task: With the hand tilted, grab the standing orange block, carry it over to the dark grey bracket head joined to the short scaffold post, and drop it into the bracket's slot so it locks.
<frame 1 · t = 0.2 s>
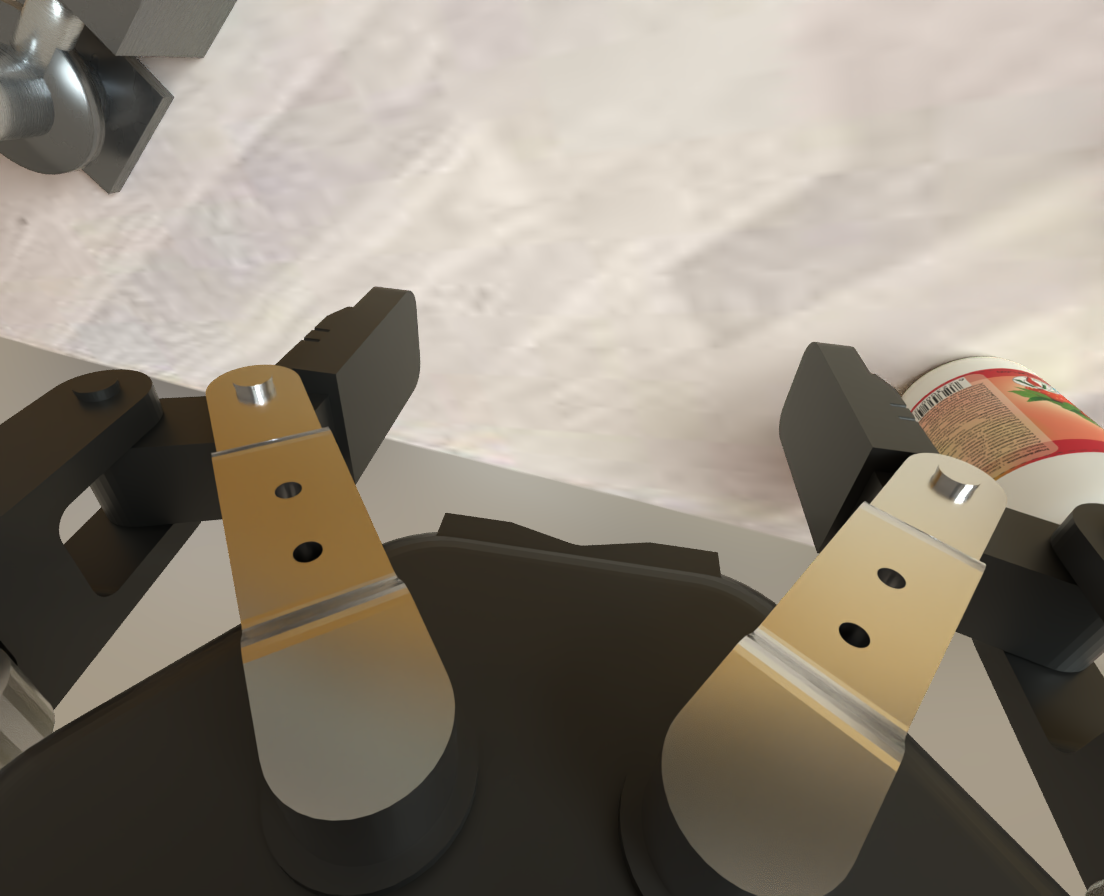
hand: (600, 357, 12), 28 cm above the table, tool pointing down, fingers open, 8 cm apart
fruit juice: (959, 412, 41), on the table
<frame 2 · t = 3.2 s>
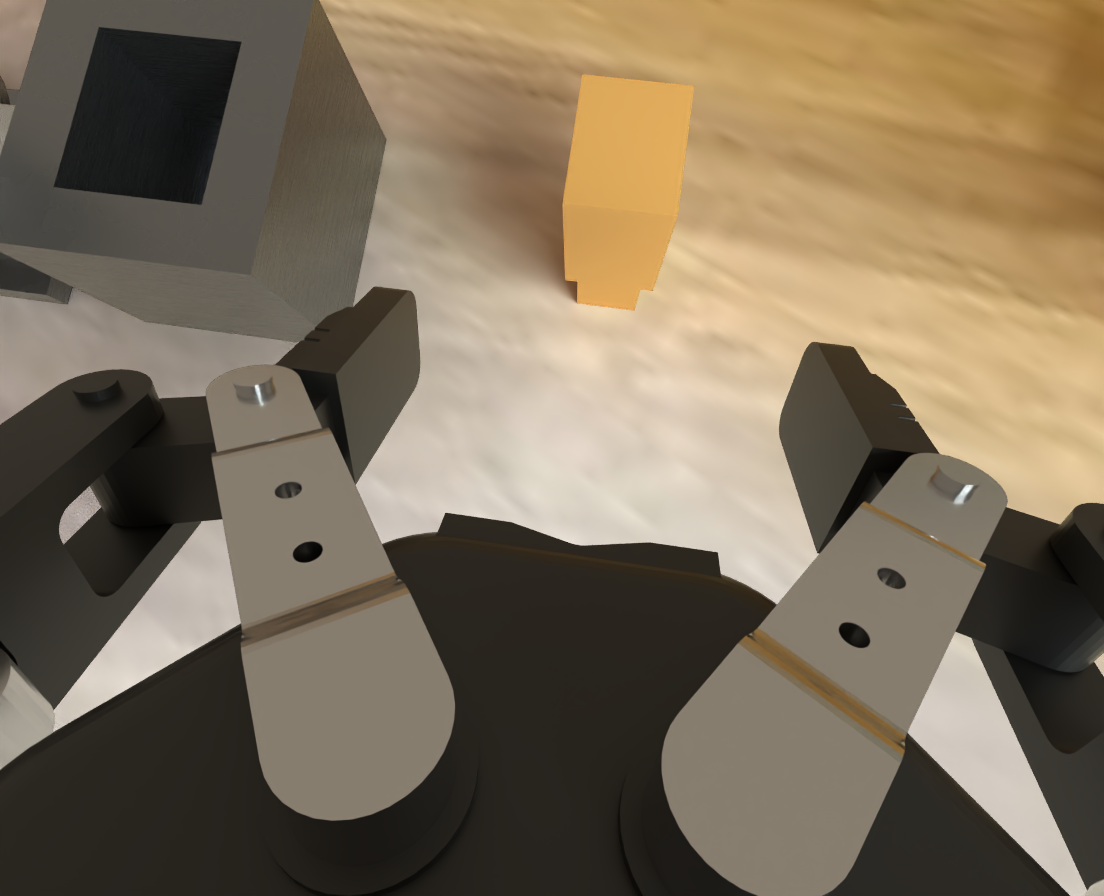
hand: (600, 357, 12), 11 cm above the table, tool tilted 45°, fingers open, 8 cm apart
orange block: (610, 270, 24), on the table
bracket post: (267, 229, 25), on the table
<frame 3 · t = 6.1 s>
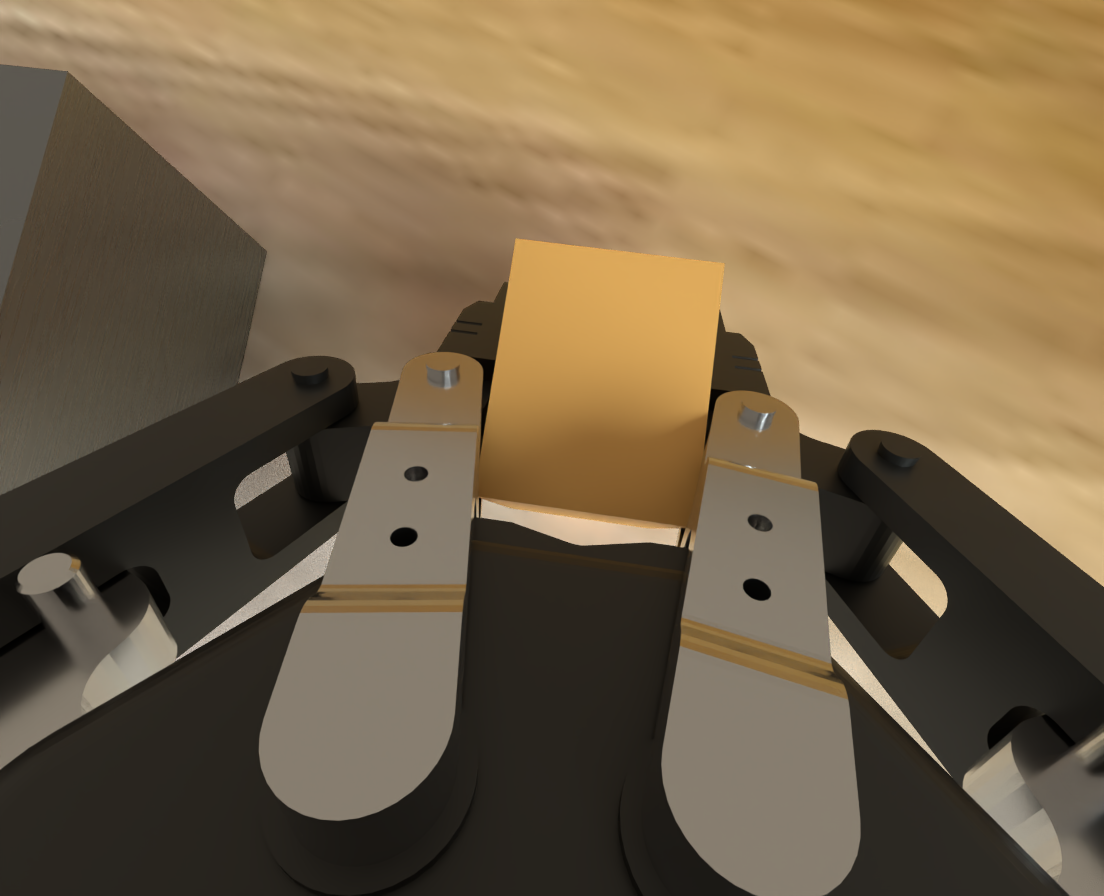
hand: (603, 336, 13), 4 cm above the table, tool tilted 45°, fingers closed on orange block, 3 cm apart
orange block: (587, 450, 16), on the table, touching gripper
bracket post: (92, 383, 17), on the table
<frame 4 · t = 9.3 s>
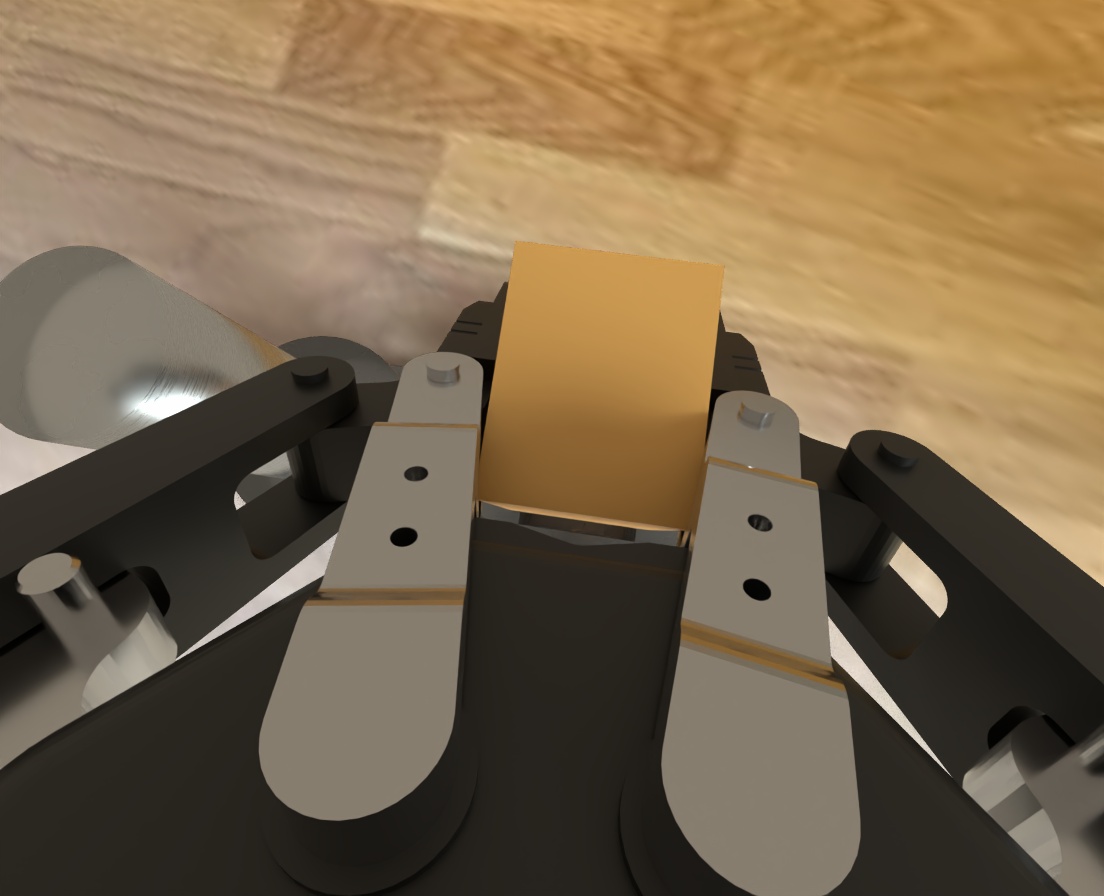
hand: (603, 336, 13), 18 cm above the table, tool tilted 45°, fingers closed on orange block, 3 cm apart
orange block: (587, 451, 16), point 14 cm above the table, touching gripper
bracket post: (584, 478, 31), on the table
when the fingers open (9 cm above the table, at t = 12.2 s): orange block drops 3 cm, resting on bracket post.
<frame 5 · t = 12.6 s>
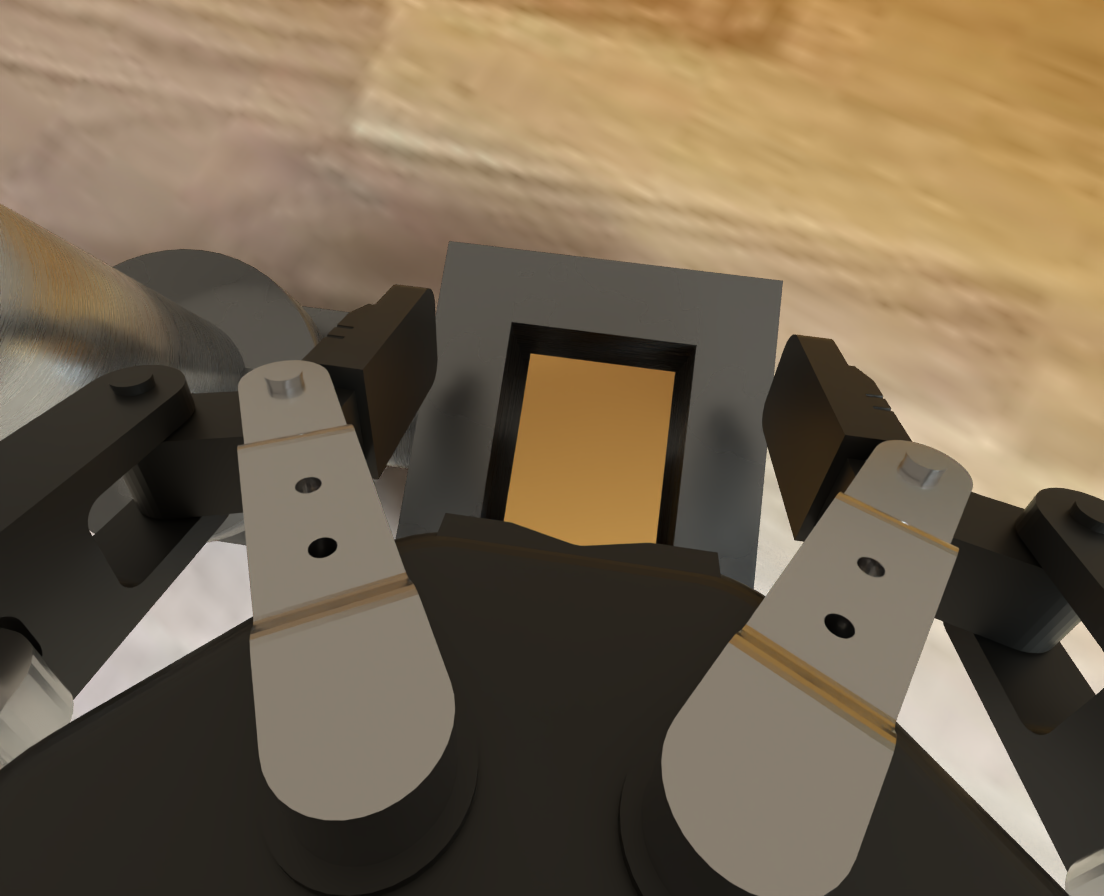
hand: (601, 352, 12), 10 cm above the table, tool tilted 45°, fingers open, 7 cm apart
orange block: (582, 492, 20), point 1 cm above the table, touching bracket post
bracket post: (583, 468, 21), on the table
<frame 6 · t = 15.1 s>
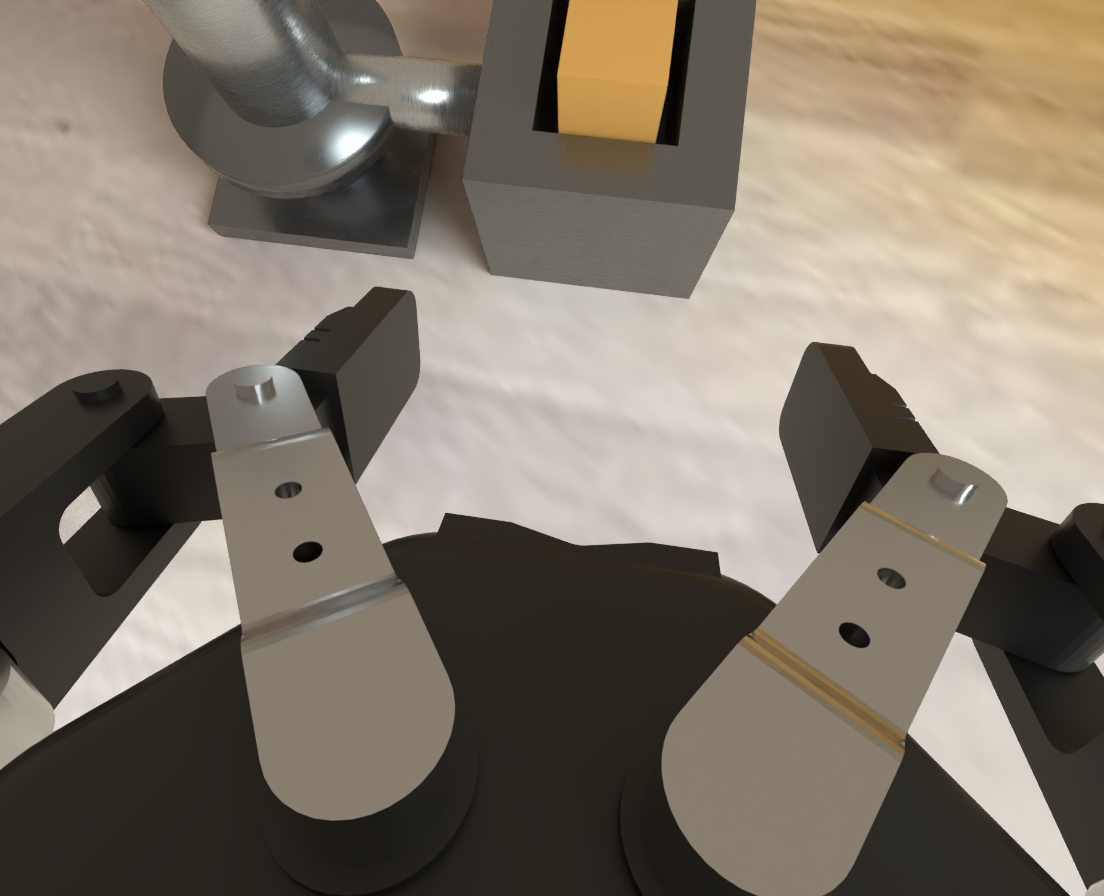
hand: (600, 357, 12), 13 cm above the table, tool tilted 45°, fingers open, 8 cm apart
orange block: (603, 192, 25), point 1 cm above the table, touching bracket post
bracket post: (603, 186, 26), on the table
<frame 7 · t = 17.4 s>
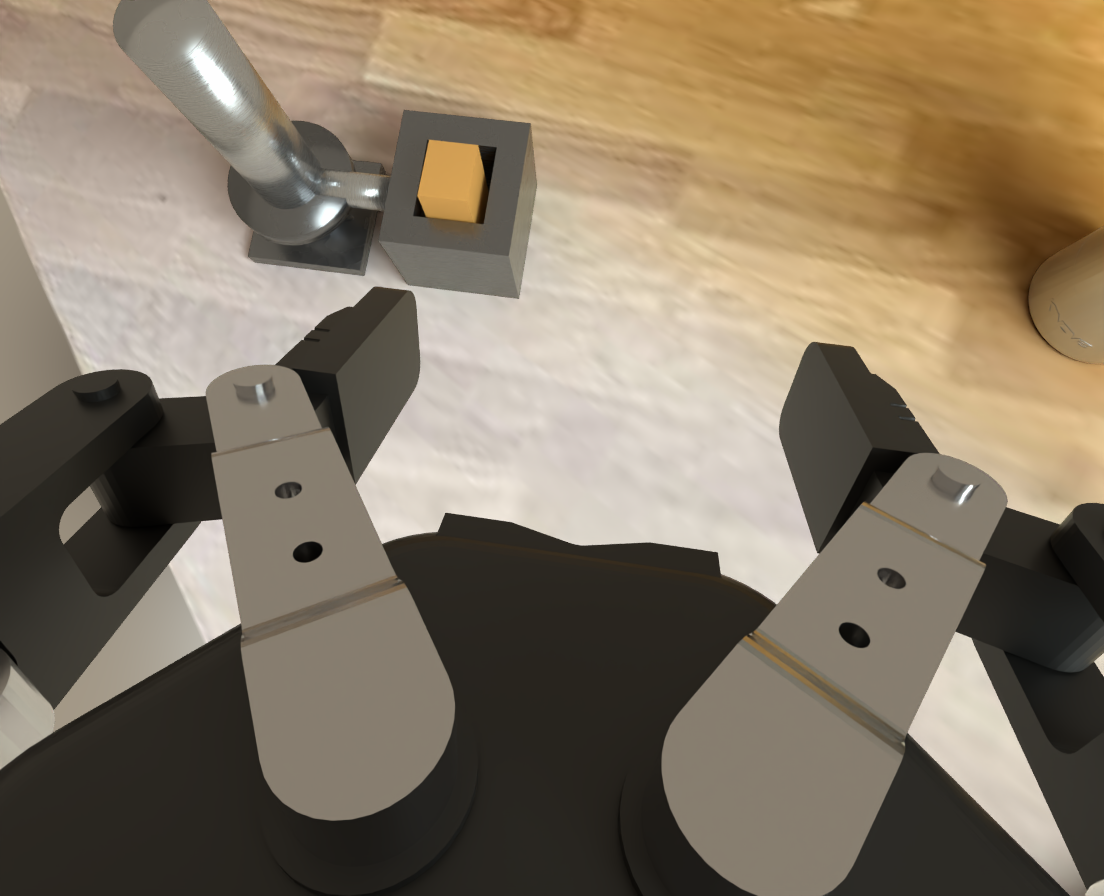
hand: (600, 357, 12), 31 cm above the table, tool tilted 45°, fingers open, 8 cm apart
orange block: (469, 238, 44), point 1 cm above the table, touching bracket post
bracket post: (473, 234, 45), on the table
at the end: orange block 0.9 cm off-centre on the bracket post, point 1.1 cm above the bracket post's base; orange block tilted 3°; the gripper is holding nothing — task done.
